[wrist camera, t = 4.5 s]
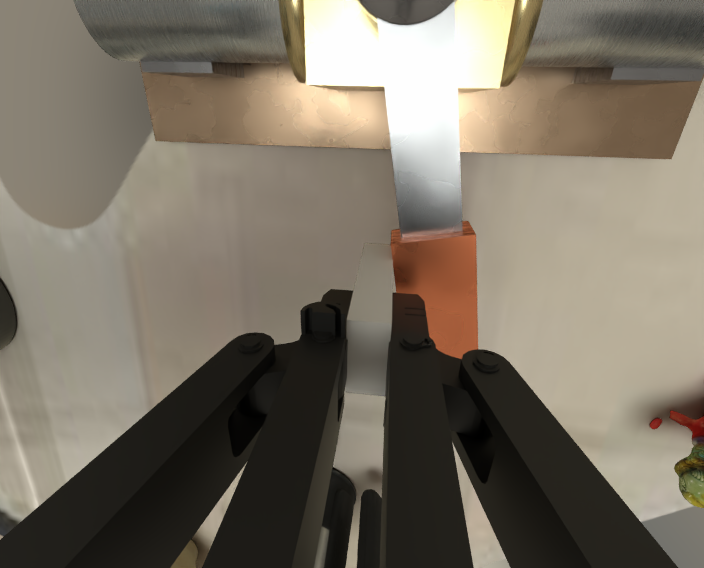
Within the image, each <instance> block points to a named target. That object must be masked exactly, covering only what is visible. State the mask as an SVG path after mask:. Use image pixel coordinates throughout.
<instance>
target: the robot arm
mask: <svg viewBox="0 0 704 568" xmlns="http://www.w3.org/2000/svg"><path fill="white" fill-rule="evenodd" d="M392 289H393V260H392V251H391V245H389V244H372V243H365V244H364V248H363V252H362V256H361V261H360V265H359V269H358V274H357V278H356V282H355V286H354V291H349V290H335V289H331V290H330V291H328V292H327V293H326V294H324V295H323V298H322V300H321V302H315V303H311V304H309V305H307V306H305V307H303V309H302V310H301V332H302V335H301V337H300V339H299V340H298V341H295V342H292V343H287V344H279V345H274V340H273V339H272V338H271V336H269V335H266V334H264V333H247V334H244V335H241V336H238V337H237V338H235V339H233V340H232V341H231V342H229V343H228V344H227V345H226V346H225V347H224V348H222V349H221V350H220V351H219V352H218V353H217V354H216V355H214V356H213V357H212V358H211V359H210V360H209V361H207V362H206V363H205V364H204V365H203V366H202V367H200V368H199V369H198V370H197V371H196V372H195V373H193V374H192V375H191V376H190V377H189V378H188V379H186V380H185V381H184V382H183V383H182V384H181V385H179V386H178V387H177V388H176V389H175V390H174V391H173V392H171V393H170V394H169V395H168V396H167V397H166V398H164V399H163V400H162V401H161V402H160V403H159V404H157V405H156V406H155V407H154V408H153V409H152V410H150V411H149V412H148V413H147V414H146V415H145V416H143V417H142V418H141V419H140V420H139V421H138V422H136V423H135V424H134V425H133V426H132V427H131V428H130V429H128V430H127V431H126V432H125V433H124V434H123V435H121V436H120V437H119V438H118V439H117V440H116V441H114V442H113V443H112V444H111V445H110V446H109V447H107V448H106V449H105V450H104V451H103V452H102V453H100V454H99V455H98V456H97V457H96V458H95V459H93V460H92V461H91V462H90V463H89V464H88V465H87V466H85V467H84V468H83V469H82V470H81V471H80V472H78V473H77V474H76V475H75V476H74V477H73V478H71V479H70V480H69V481H68V482H67V483H66V484H64V485H63V486H62V487H61V488H60V489H59V490H57V491H56V492H55V493H54V494H53V495H52V496H51V497H49V498H48V499H47V500H46V501H45V502H44V503H42V504H41V505H40V506H39V507H38V508H37V509H35V510H34V511H33V512H32V513H31V514H30V515H28V516H27V517H26V518H25V519H24V520H23V521H21V522H20V523H19V524H18V525H17V526H16V527H14V528H13V529H12V530H11V531H10V532H9V533H8V534H6V535H5V536H4V537H3V538H2V539H1V540H0V568H171V566H172V565H173V563H174V562H175V561H176V559H177V558H178V556H179V555H180V554H181V552H182V551H183V550H184V548H185V547H186V545H187V544H188V543H189V541H190V540H191V538H192V537H193V536H194V534H195V533H196V532H197V530H198V529H199V527H200V526H201V525H202V523H203V522H204V520H205V519H206V518H207V516H208V515H209V514H210V512H211V511H212V509H213V508H214V507H215V505H216V504H217V502H218V501H219V500H220V498H221V497H222V496H223V494H224V493H225V491H226V490H227V489H228V487H229V486H230V484H231V483H232V482H233V480H234V479H235V478H236V476H237V475H238V473H239V472H240V471H241V469H242V468H243V466H244V465H245V464H246V462H247V461H248V462H247V464H246V466H245V469H244V471H243V473H242V476H241V478H240V480H239V483H238V485H237V487H236V490H235V492H234V494H233V497H232V499H231V501H230V504H229V506H228V508H227V511H226V513H225V515H224V518H223V520H222V523H221V525H220V527H219V530H218V532H217V534H216V537H215V539H214V541H213V544H212V546H211V548H210V551H209V553H208V555H207V558H206V560H205V562H204V565H203V567H202V568H314V564H315V559H316V554H317V548H318V543H319V537H320V532H321V526H322V521H323V516H324V510H325V505H326V499H327V494H328V489H329V483H330V478H331V472H332V467H333V462H334V456H335V451H336V445H337V440H338V435H339V429H340V424H341V418H342V413H343V408H344V391H345V392H348V393H358V394H367V395H378V396H386V400H385V412H384V424H383V427H384V448H383V479H382V510H381V541H380V568H473V562H472V556H471V550H470V544H469V538H468V533H467V527H466V521H465V515H464V509H463V503H462V497H461V491H460V486H459V480H458V474H457V468H456V462H455V456H454V450H453V444H454V446H455V448H456V450H457V453H458V455H459V457H460V459H461V461H462V463H463V466H464V468H465V470H466V472H467V474H468V476H469V479H470V481H471V483H472V485H473V487H474V489H475V492H476V494H477V496H478V498H479V500H480V502H481V505H482V507H483V509H484V511H485V513H486V515H487V518H488V520H489V522H490V524H491V526H492V528H493V531H494V533H495V535H496V537H497V539H498V541H499V544H500V546H501V548H502V550H503V552H504V554H505V557H506V559H507V561H508V563H509V565H510V567H511V568H678V567H677V566H676V565H675V563H674V562H673V561H672V560H671V558H670V557H669V556H668V555H667V554H666V552H665V551H664V550H663V549H662V547H661V546H660V545H659V544H658V543H657V541H656V540H655V539H654V538H653V537H652V536H651V534H650V533H649V532H648V530H647V529H646V528H645V527H644V526H643V524H642V523H641V522H640V521H639V519H638V518H637V517H636V516H635V515H634V513H633V512H632V511H631V510H630V509H629V507H628V506H627V505H626V504H625V502H624V501H623V500H622V499H621V498H620V496H619V495H618V494H617V493H616V491H615V490H614V489H613V488H612V487H611V485H610V484H609V483H608V482H607V481H606V479H605V478H604V477H603V476H602V474H601V473H600V472H599V471H598V470H597V468H596V467H595V466H594V465H593V463H592V462H591V461H590V460H589V459H588V457H587V456H586V455H585V454H584V453H583V451H582V450H581V449H580V448H579V446H578V445H577V444H576V443H575V442H574V440H573V439H572V438H571V437H570V435H569V434H568V433H567V432H566V431H565V429H564V428H563V427H562V426H561V425H560V423H559V422H558V421H557V420H556V418H555V417H554V416H553V415H552V414H551V412H550V411H549V410H548V409H547V408H546V406H545V405H544V404H543V403H542V401H541V400H540V399H539V398H538V397H537V395H536V394H535V393H534V392H533V390H532V389H531V388H530V387H529V386H528V384H527V383H526V382H525V381H524V380H523V378H522V377H521V376H520V375H519V373H518V372H517V371H516V370H515V369H514V367H513V366H512V365H511V364H510V362H508V361H507V360H506V359H505V358H504V357H503V356H501V355H499V354H497V353H495V352H491V351H488V350H478V349H475V350H471V351H468V352H466V353H465V354H463V357H462V359H459V358H456V357H452V356H449V355H447V354H444V353H442V352H441V351H439V350H437V349H436V345H435V343H434V341H433V339H431V338H430V337H429V330H428V323H427V317H426V310H425V302H424V300H423V299H422V298H421V297H420V296H419V295H418V294H406V293H392ZM15 328H16V317H15V311H14V308H13V305H12V302H11V299H10V297H9V295H8V293H7V291H6V289H5V288H4V286H3V284H2V283H1V281H0V350H1V349H2V348H4V347H5V346H7V345H8V344H9V342H10V341H11V340H12V338H13V336H14V333H15ZM345 385H346V388H345ZM452 442H453V444H452Z"/></svg>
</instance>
